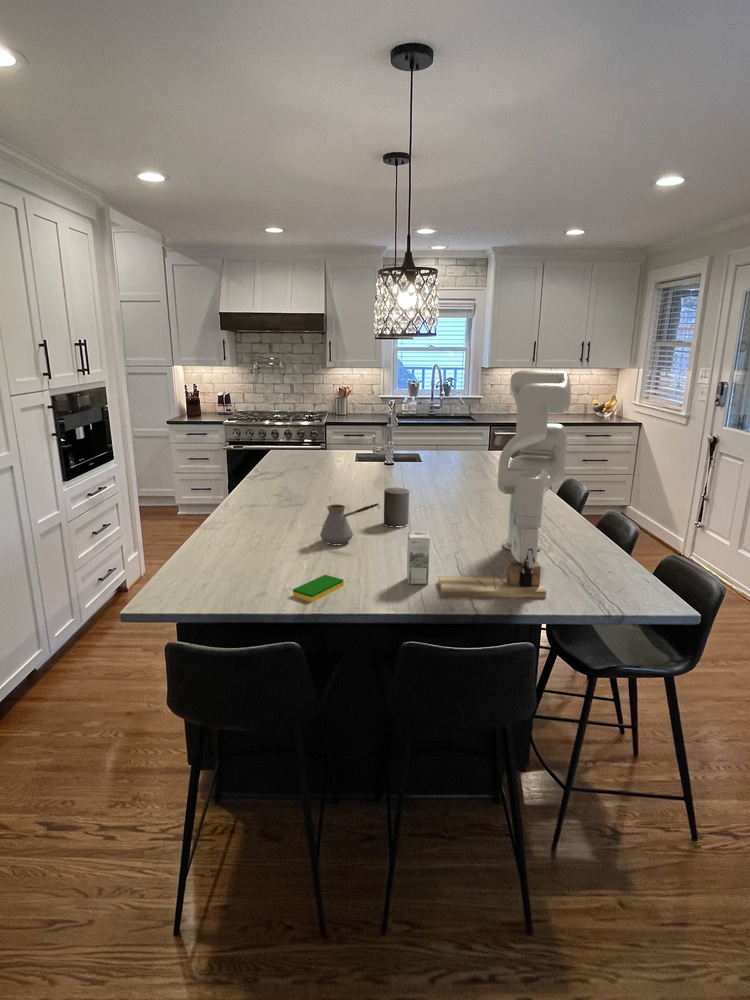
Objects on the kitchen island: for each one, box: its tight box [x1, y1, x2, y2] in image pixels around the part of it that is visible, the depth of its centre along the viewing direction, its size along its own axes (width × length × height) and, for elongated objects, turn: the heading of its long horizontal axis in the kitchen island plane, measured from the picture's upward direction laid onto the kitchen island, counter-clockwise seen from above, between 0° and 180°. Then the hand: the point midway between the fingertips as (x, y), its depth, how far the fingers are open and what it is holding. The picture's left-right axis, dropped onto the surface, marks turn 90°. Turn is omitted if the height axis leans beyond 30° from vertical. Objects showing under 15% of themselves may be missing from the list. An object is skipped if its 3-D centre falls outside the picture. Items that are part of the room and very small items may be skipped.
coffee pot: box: [319, 503, 381, 545], centre depth 199 cm, size 21×12×15 cm, turn 76°
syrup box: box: [406, 531, 431, 586], centre depth 165 cm, size 6×6×14 cm
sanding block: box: [506, 560, 542, 587], centre depth 160 cm, size 4×8×6 cm, turn 90°
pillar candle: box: [383, 486, 410, 527], centre depth 222 cm, size 10×10×15 cm
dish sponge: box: [292, 574, 345, 603], centre depth 160 cm, size 7×14×2 cm, turn 145°
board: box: [437, 575, 547, 599], centre depth 161 cm, size 11×28×2 cm, turn 90°
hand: (522, 581), depth 161 cm, fingers closed on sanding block, 4 cm apart
